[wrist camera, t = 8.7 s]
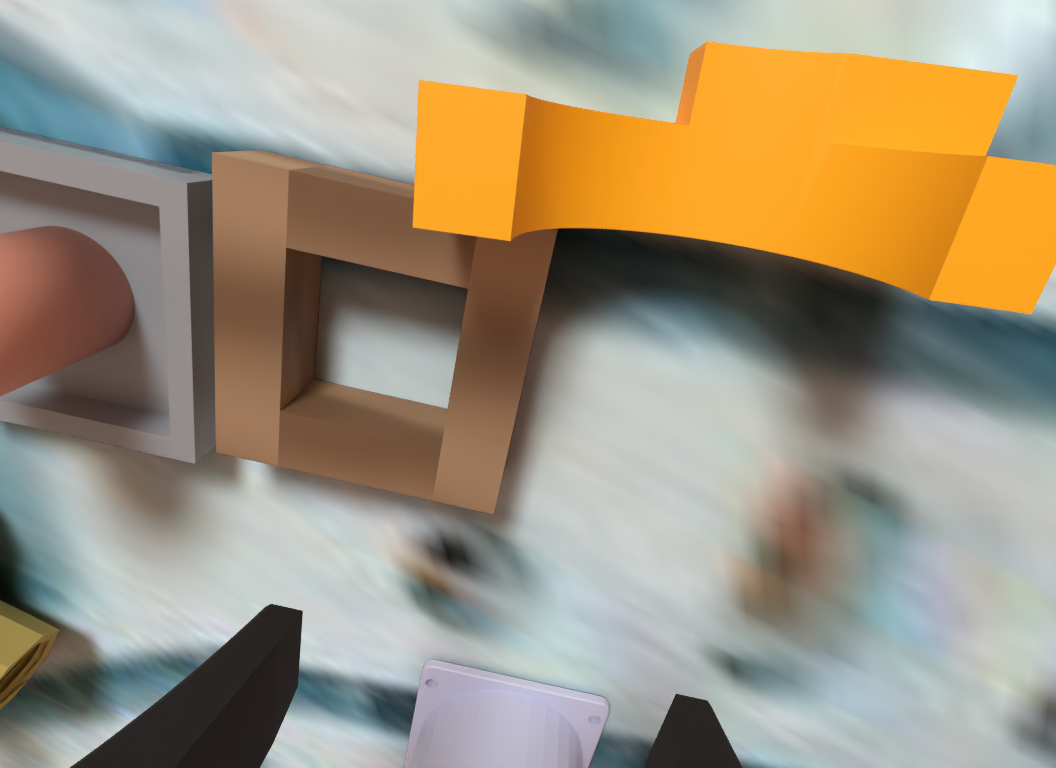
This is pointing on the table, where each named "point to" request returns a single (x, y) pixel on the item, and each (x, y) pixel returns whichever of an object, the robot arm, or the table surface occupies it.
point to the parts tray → (157, 285)
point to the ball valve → (21, 649)
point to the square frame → (292, 323)
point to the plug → (57, 302)
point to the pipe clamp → (764, 170)
